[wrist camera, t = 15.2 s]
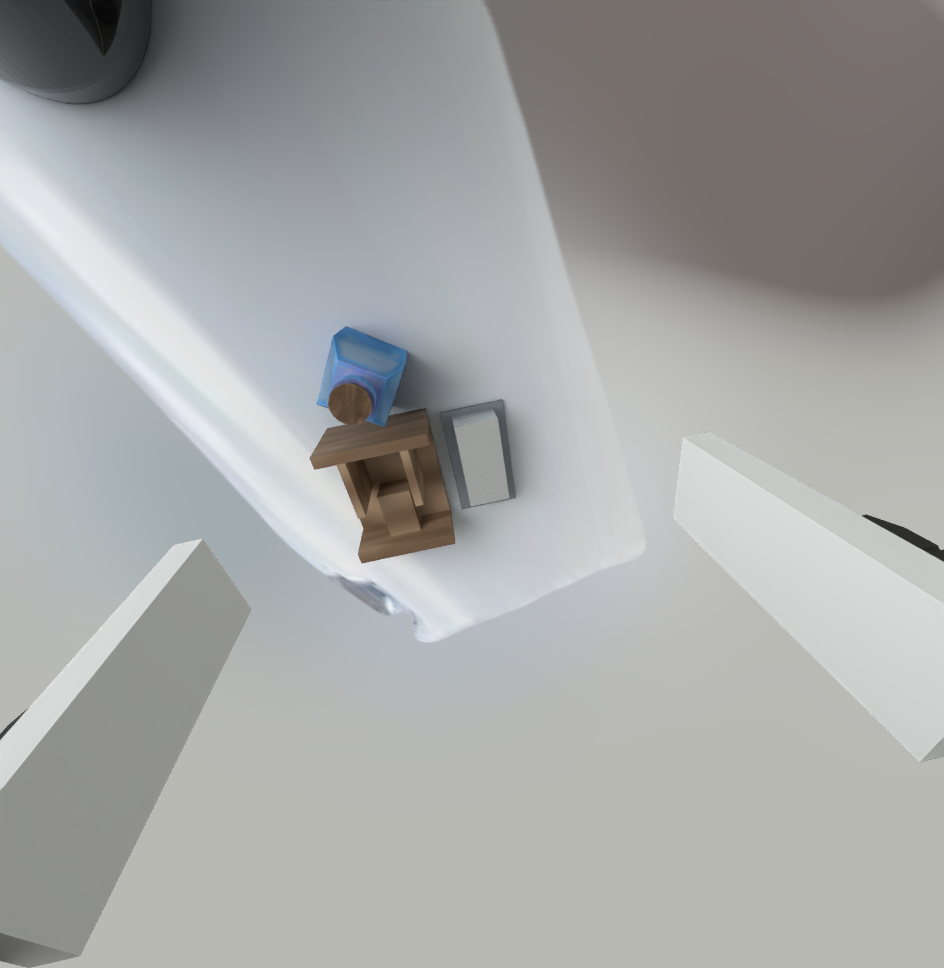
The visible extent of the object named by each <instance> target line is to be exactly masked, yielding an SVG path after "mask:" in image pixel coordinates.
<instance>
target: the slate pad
mask: <svg viewBox="0 0 944 968" xmlns="http://www.w3.org/2000/svg"><path fill="white" fill-rule="evenodd" d="M488 408H493V410H494V412H495V414H496V416H497V418H498V423H499V430H500V437H501V444H502V451H503V458H504V464H505V471H506V478H507V485H508V492H509V499H513V498H516V497H515V489H514V482H513V474H512V467H511V459H510V452H509V444H508V437H507V429H506V422H505V414H504V407H503V400H497V401H493V402H488V403H483V404H478V405H473V406H468V407H464V408H459V409H454V410H449V411H444V412H440V413H441V417H442V422H443V426H444V431H445V435H446V440H447V444H448V449H449V453H450V457H451V462H452V466H453V471H454V475H455V480H456V484H457V489H458V493H459V497H460V502H461V506H462V509H465V508H470V507H475V506H471V505H470V500H469V495H468V491H467V486H466V481H465V477H464V472H463V467H462V463H461V458H460V453H459V448H458V444H457V439H456V434H455V430H454V425H453V420H452V416H454V415H459V414H464V413H469V412H473V411H478V410H483V409H488ZM504 500H508V499H504ZM499 501H503V500H499ZM495 502H498V501H495ZM490 503H494V502H490ZM485 504H489V503H485ZM481 505H484V504H481ZM476 506H480V505H476Z"/></svg>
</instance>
